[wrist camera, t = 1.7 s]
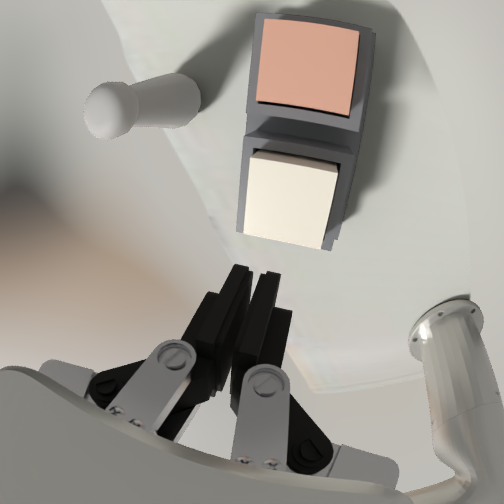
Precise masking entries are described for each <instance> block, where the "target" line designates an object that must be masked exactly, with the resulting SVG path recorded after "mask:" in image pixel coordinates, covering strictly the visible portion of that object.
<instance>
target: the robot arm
mask: <svg viewBox="0 0 504 504" xmlns="http://www.w3.org/2000/svg"><path fill="white" fill-rule="evenodd" d="M280 277H281V274H279V273H275V272H270V271H267V273H266V274H262V273H261V275H260V277H259V280H258V283H257V286H256V288H255V291H254V294H253V296H252V299H251V302H250V296H251V287H252V279H253V272H252V271H249V267H247V266H242V265H238V264H234V266H233V268H232V270H231V272H230V274H229V276H228V277H227V279H226V281H225V283H224V285H223V287H222V289H221V291H220V293H219V294H218V293H214V292H210V291H209V292H207V294H206V295H205V297H204V299H203V301H202V302H201V304H200V306H199V308H198V309H197V311H196V313H195V315H194V316H193V318H192V320H191V322H190V324H189V325H188V327H187V329H186V331H185V333H184V334H183V336H182V338H181V340H174V339H173V340H168V341H165V342H163V343H161V344H159V345H158V346H157V347H156V348H155V349H154V351H153V352H152V353H151V354H150V355H149V357H148V358H147V359H145V360H141V361H138V362H135V363H131V364H128V365H124V366H121V367H117V368H113V369H110V370H106V371H102V372H100V373H95V372H94V370H92V369H88V368H83V367H80V366H76V365H72V364H69V363H65V362H62V361H58V360H48V361H46V362H45V363H43V365H42V366H41V367H40V369H39V371H36V370H33V369H30V368H26V367H21V366H7V367H4V368H2V369H0V504H504V408H503V405H502V400H501V396H500V393H499V389H498V385H497V382H496V378H495V375H494V372H493V369H492V366H491V363H490V360H489V357H488V354H487V351H486V349H485V346H484V343H483V341H482V338H481V336H480V332H481V330H482V327H483V315H482V312H481V310H480V308H479V307H478V306H477V305H476V304H475V303H474V302H472V301H468V300H454V301H449V302H446V303H443V304H441V305H439V306H437V307H435V308H433V309H432V310H430V311H429V312H427V313H426V314H425V315H424V316H422V317H421V319H420V320H419V321H418V322H417V323H416V324H415V326H414V327H413V328H412V331H411V333H410V335H409V339H408V345H409V350H410V353H411V355H412V356H413V357H414V358H415V359H417V360H419V361H421V362H422V363H423V369H424V374H425V380H426V386H427V392H428V400H429V408H430V417H431V426H432V440H433V448H434V452H435V454H436V456H437V457H438V458H439V459H440V460H441V461H442V462H443V463H444V464H446V465H447V466H449V467H450V468H452V469H453V470H454V471H455V476H454V477H452V478H450V479H448V480H445V481H443V482H441V483H438V484H435V485H431V486H429V487H425V488H422V489H418V490H414V491H410V492H406V493H401V492H400V491H397V490H395V487H396V484H397V481H398V477H399V468H398V465H397V464H396V462H395V461H394V460H392V459H390V458H387V457H383V456H379V455H375V454H372V453H369V452H365V451H361V450H358V449H355V448H352V447H349V446H346V445H343V444H342V445H341V446H339V445H337V444H334V443H331V442H330V440H329V439H328V438H327V437H326V435H325V434H324V433H323V432H322V431H321V429H320V428H319V427H318V426H317V425H316V424H315V423H314V421H313V420H312V419H311V418H310V417H309V415H308V414H307V413H306V412H305V411H304V410H303V408H302V407H301V406H300V405H299V403H298V402H297V401H296V400H295V399H294V397H293V396H292V395H291V394H290V382H289V378H288V376H287V375H286V373H285V372H284V371H283V370H282V369H281V365H282V361H283V356H284V352H285V347H286V342H287V337H288V332H289V327H290V322H291V317H292V311H291V310H286V309H282V308H277V307H275V302H276V297H277V292H278V287H279V282H280ZM231 366H232V367H231ZM230 368H231V383H230V394H231V404H230V407H231V408H232V410H233V411H234V413H235V414H236V416H237V422H236V429H235V435H234V441H233V447H232V453H231V459H230V460H228V459H224V458H221V457H217V456H214V455H211V454H207V453H204V452H201V451H198V450H195V449H192V448H189V447H186V446H184V445H181V444H178V443H177V442H178V441H179V439H180V437H181V436H182V434H183V433H184V431H185V430H186V428H187V426H188V425H189V423H190V422H191V420H192V418H193V417H194V415H195V414H196V412H197V410H198V409H199V407H200V404H201V403H203V402H205V401H208V400H209V398H210V396H212V397H215V394H216V392H217V391H222V390H223V387H224V385H225V382H226V379H227V376H228V374H229V371H230Z"/></svg>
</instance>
